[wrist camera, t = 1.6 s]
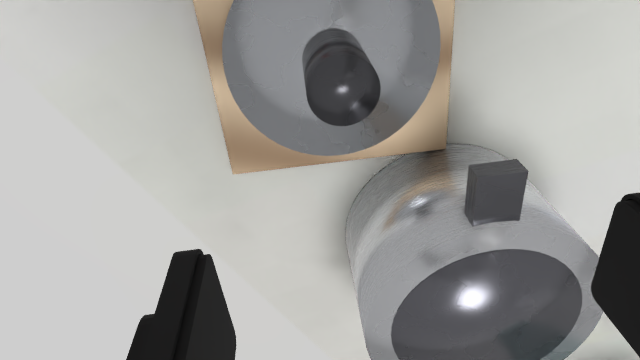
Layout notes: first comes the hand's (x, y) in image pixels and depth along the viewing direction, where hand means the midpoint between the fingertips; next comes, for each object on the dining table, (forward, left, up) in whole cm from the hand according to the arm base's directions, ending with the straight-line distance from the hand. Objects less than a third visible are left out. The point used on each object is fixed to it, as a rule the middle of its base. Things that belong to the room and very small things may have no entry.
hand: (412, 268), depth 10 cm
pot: (+14, +7, -18) cm, 24 cm away
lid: (0, 0, -18) cm, 18 cm away
